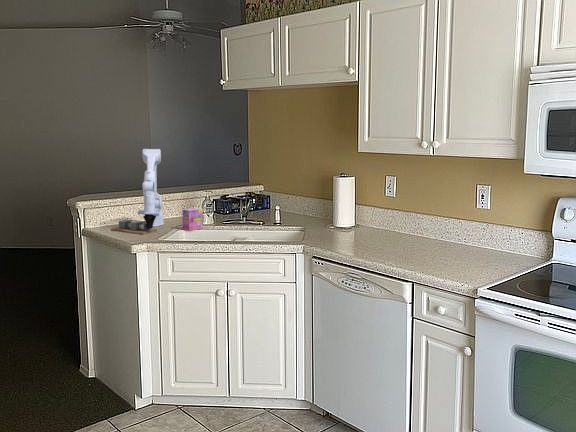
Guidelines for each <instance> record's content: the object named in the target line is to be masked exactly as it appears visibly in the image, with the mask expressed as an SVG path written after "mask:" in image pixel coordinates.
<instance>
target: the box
mask: <svg viewBox="0 0 576 432" xmlns="http://www.w3.org/2000/svg"><path fill="white" fill-rule="evenodd" d="M203 212H204V208H202V207H197V206H196V207H189V208H183V209H182V230H183V231H185V232H186V231H187V232H192V231H198V230H202V229H203V227H204V226H203V225H204V224H203V222H204V220H203V219H204V215H203V214H204V213H203Z"/></svg>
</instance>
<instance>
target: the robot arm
mask: <svg viewBox="0 0 576 432" xmlns="http://www.w3.org/2000/svg"><path fill="white" fill-rule="evenodd" d="M141 156H142V160H143V162H144V164H146V170H145V171H144V177H143V182H142V193H143V209H142V210H141V209H140V210H137V215H143V216H142V218H143V219H144V221H145V224H147V227H148V229H153V227H154V228H155V227H159V226H164V225H165V222H164V212H163V210H162V208H163V199H162V198H163V197H162V195H160V194H159V193H158V192H157V191H158V190H157V189H158V188H157V187H158V186H157V184H158V183H157V180H158V179H157V176H158V175H157V167H158V165H159V164H161V160H162V151H161V149H160V148H143V149H142V155H141Z"/></svg>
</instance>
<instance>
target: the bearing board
mask: <svg viewBox="0 0 576 432" xmlns="http://www.w3.org/2000/svg"><path fill="white" fill-rule="evenodd" d="M118 222H119V225H118V227H114V228H110V231H111V232H117V233H127V234H134V235H141V236H143V235H147V234H150V233H155V232H157V231H158V230H157V229H155V228H151V229H150V230H147V231H144V229H142V228H138V224H143V223H144V222H143V221H140V220H139V221H138V220H135V221H132V219H122V220H118ZM126 223H130V227H127V226H126ZM143 225H144V224H143Z"/></svg>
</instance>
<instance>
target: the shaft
mask: <svg viewBox="0 0 576 432" xmlns="http://www.w3.org/2000/svg"><path fill="white" fill-rule="evenodd" d="M117 224H118V226H119V221H118V222H117ZM126 226H127V227H130V223H126ZM138 228H142V229H144V231H147V230H150V229H148V227H147V224H146V223H144V224H138Z"/></svg>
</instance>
